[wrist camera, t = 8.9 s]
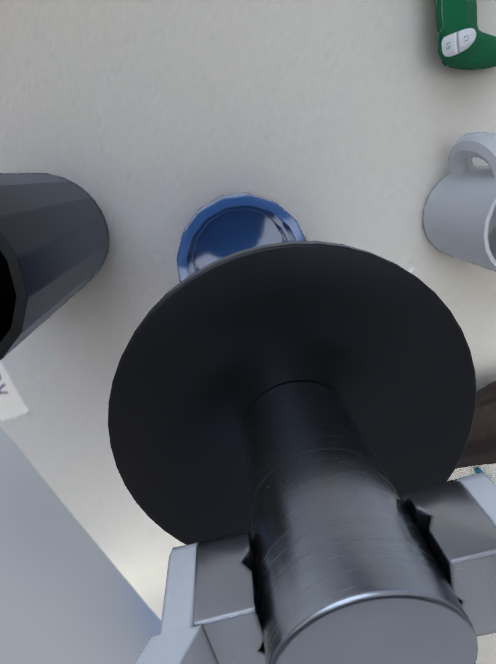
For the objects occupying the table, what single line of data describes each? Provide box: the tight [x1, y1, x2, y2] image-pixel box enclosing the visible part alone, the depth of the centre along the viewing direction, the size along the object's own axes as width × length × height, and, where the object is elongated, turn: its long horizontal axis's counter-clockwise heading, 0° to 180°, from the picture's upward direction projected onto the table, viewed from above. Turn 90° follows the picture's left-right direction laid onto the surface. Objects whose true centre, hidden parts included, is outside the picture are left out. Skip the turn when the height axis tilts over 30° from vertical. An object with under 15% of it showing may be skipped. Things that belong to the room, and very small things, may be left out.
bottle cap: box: [177, 193, 306, 282], centre depth 34 cm, size 10×10×4 cm
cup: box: [423, 132, 496, 271], centre depth 31 cm, size 7×10×9 cm
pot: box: [0, 173, 109, 360], centre depth 26 cm, size 9×9×16 cm
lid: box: [108, 241, 478, 664], centre depth 9 cm, size 10×10×7 cm
